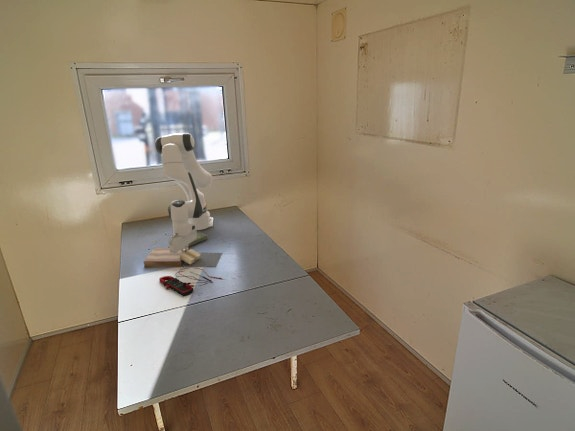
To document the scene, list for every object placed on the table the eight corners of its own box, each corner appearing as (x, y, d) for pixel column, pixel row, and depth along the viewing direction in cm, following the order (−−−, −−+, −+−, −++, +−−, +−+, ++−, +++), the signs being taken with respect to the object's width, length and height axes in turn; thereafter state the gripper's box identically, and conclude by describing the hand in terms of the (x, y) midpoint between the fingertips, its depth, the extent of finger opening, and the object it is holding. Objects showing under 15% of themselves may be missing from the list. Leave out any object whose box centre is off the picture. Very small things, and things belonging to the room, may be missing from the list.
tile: (190, 252, 194) (191, 248, 193) (200, 257, 192) (201, 254, 191) (179, 258, 184) (180, 254, 183) (190, 264, 183) (191, 260, 182)
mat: (190, 253, 199) (190, 252, 199) (221, 253, 198) (221, 252, 198) (182, 267, 184) (182, 266, 184) (215, 267, 183) (215, 266, 183)
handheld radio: (201, 236, 220) (167, 250, 202) (200, 231, 219) (166, 245, 201) (207, 239, 216) (173, 253, 198) (207, 234, 215) (173, 248, 197)
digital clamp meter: (184, 294, 153) (154, 275, 168) (185, 302, 155) (155, 283, 170) (224, 272, 170) (193, 257, 185) (225, 280, 172) (194, 265, 187)
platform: (155, 253, 199) (154, 247, 198) (189, 253, 199) (189, 247, 197) (144, 267, 184) (143, 261, 183) (181, 267, 184) (180, 261, 183)
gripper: (174, 238, 175) (177, 262, 180) (197, 224, 192) (200, 246, 197) (164, 236, 177) (167, 260, 182) (188, 222, 194) (191, 244, 199)
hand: (184, 252), depth 190 cm, fingers closed, pressing on tile
